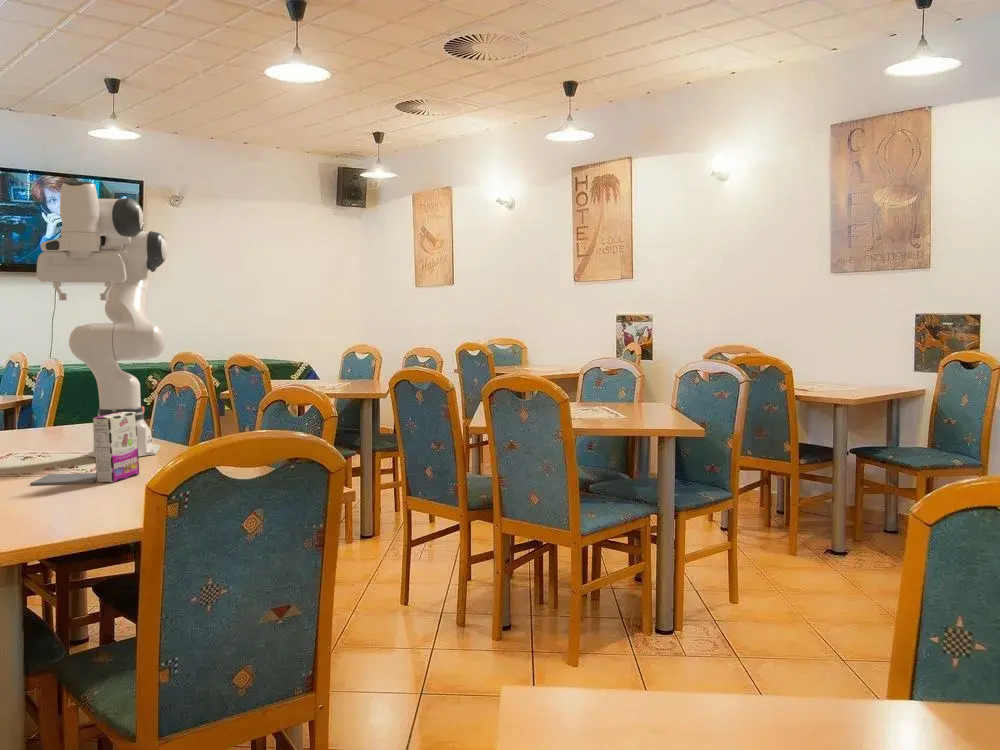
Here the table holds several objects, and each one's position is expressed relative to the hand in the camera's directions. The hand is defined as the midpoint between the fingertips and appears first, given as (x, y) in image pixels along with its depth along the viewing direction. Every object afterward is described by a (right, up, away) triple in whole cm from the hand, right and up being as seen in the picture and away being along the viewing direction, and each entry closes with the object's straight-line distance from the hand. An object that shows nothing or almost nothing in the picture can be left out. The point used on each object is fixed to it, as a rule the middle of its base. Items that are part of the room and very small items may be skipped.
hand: (83, 300), depth 208 cm
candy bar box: (+9, -45, 0) cm, 46 cm away
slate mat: (-3, -45, -1) cm, 45 cm away
